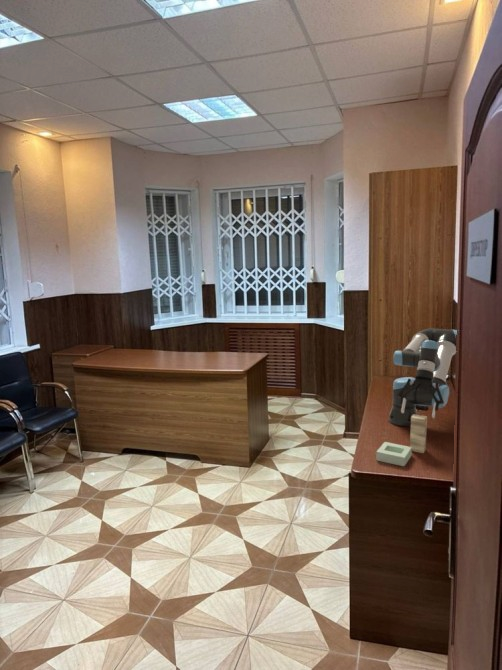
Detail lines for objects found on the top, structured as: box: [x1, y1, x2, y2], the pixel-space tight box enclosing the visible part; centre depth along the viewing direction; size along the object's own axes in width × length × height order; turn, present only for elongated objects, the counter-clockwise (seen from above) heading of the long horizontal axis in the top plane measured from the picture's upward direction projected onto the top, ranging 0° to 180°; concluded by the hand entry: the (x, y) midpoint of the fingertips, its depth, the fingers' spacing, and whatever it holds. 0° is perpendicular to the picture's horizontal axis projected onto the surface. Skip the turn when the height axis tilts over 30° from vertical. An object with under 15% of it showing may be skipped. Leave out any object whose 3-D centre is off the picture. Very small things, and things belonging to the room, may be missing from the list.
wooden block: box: [409, 414, 428, 454], centre depth 211 cm, size 4×6×16 cm, turn 58°
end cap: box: [375, 441, 413, 467], centre depth 205 cm, size 12×12×4 cm
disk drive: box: [416, 404, 427, 411], centre depth 272 cm, size 10×3×15 cm
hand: (417, 414), depth 214 cm, fingers open, 13 cm apart
